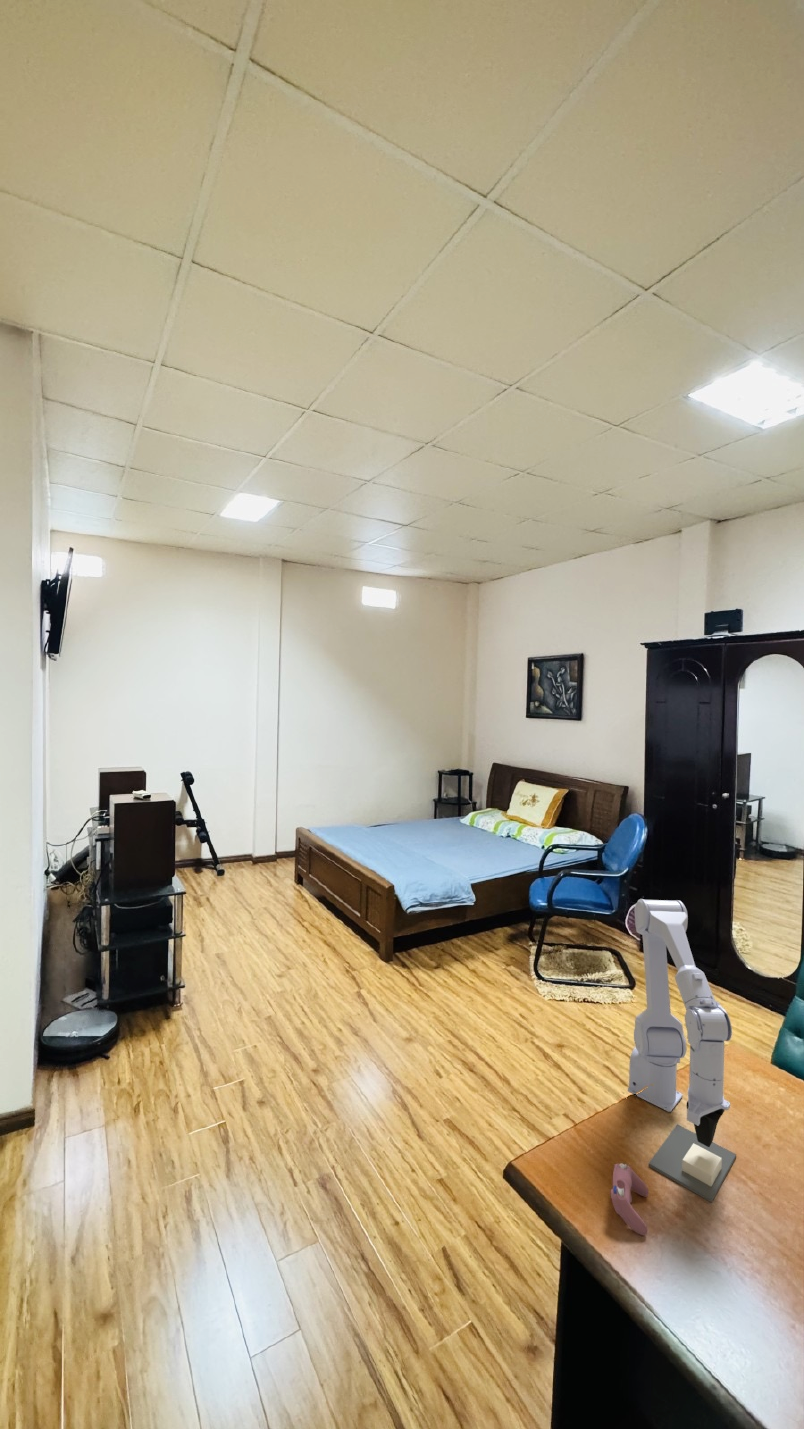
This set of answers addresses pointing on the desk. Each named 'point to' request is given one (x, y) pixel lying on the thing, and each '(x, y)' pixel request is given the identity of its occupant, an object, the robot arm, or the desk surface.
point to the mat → (673, 1154)
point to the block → (702, 1164)
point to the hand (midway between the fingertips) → (704, 1142)
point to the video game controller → (628, 1196)
